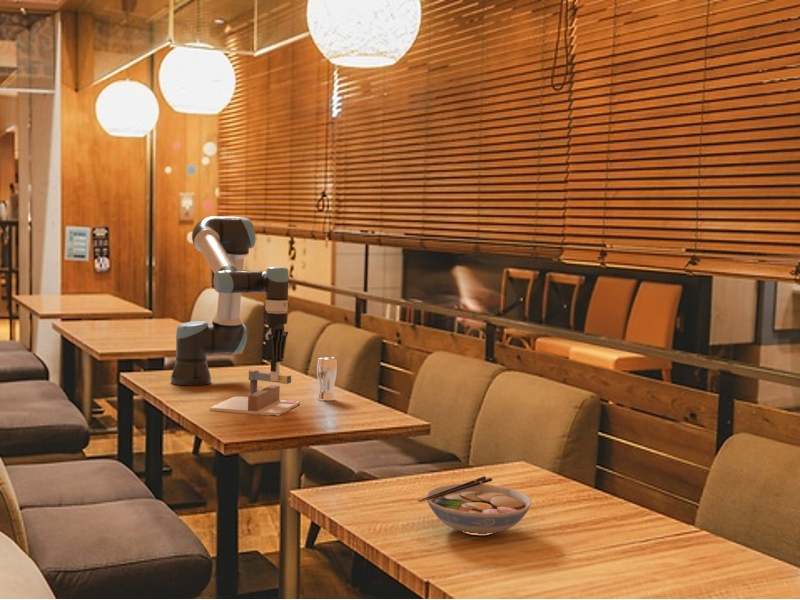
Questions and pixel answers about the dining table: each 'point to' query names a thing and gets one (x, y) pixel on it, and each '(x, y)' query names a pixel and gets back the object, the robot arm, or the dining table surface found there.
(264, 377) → the swing bar
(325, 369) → the beer glass
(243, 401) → the lock base
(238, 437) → the dining table surface
